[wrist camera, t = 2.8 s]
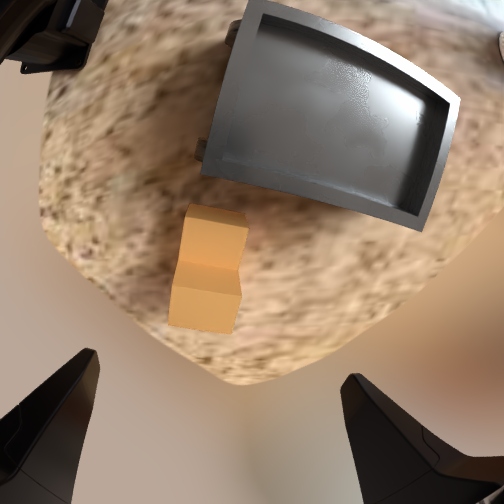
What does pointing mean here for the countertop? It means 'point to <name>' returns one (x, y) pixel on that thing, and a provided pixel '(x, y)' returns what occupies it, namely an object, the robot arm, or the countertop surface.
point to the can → (501, 45)
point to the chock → (208, 270)
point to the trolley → (328, 117)
